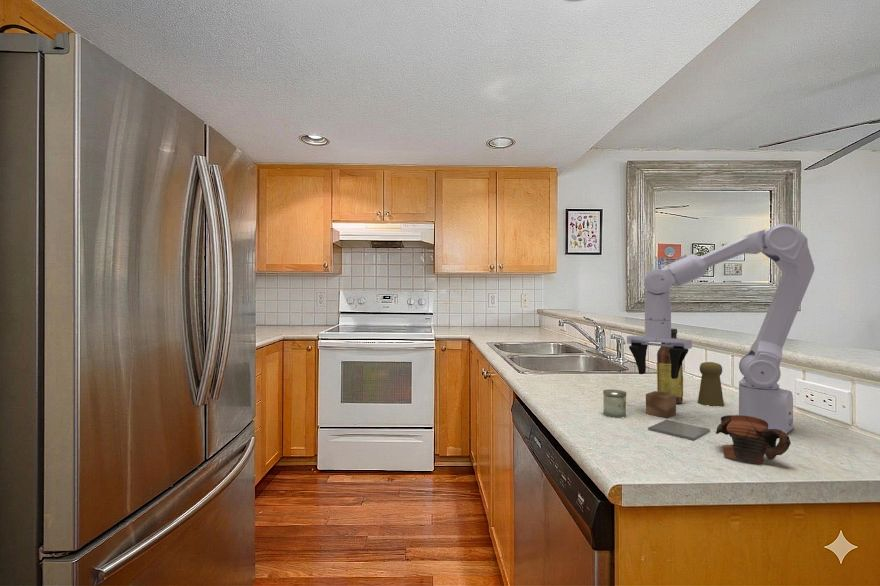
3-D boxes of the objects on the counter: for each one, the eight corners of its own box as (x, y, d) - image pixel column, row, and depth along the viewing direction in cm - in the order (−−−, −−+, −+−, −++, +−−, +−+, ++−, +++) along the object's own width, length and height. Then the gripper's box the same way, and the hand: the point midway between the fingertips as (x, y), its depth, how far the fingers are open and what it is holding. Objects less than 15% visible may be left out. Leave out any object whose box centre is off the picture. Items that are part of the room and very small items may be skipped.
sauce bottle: (688, 404, 115) (688, 329, 115) (664, 404, 116) (664, 329, 116) (675, 398, 122) (675, 327, 122) (652, 398, 122) (652, 327, 122)
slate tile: (710, 431, 93) (710, 429, 93) (693, 440, 87) (693, 438, 87) (666, 421, 100) (666, 419, 100) (648, 429, 94) (648, 427, 94)
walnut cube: (676, 415, 106) (676, 394, 106) (667, 419, 102) (667, 397, 102) (654, 411, 110) (654, 391, 110) (645, 414, 106) (645, 393, 106)
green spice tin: (630, 415, 105) (630, 392, 105) (619, 419, 102) (619, 395, 102) (609, 410, 109) (609, 388, 109) (598, 414, 106) (598, 391, 106)
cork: (716, 401, 119) (716, 360, 119) (729, 407, 113) (729, 364, 113) (693, 400, 120) (693, 360, 120) (704, 406, 114) (704, 364, 114)
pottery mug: (704, 456, 80) (704, 412, 84) (734, 471, 84) (733, 428, 87) (779, 460, 70) (776, 410, 74) (809, 477, 74) (805, 428, 77)
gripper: (620, 319, 109) (621, 373, 109) (683, 321, 98) (683, 382, 98) (634, 318, 114) (634, 370, 114) (695, 320, 103) (695, 378, 103)
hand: (657, 375), depth 106 cm, fingers open, 7 cm apart
